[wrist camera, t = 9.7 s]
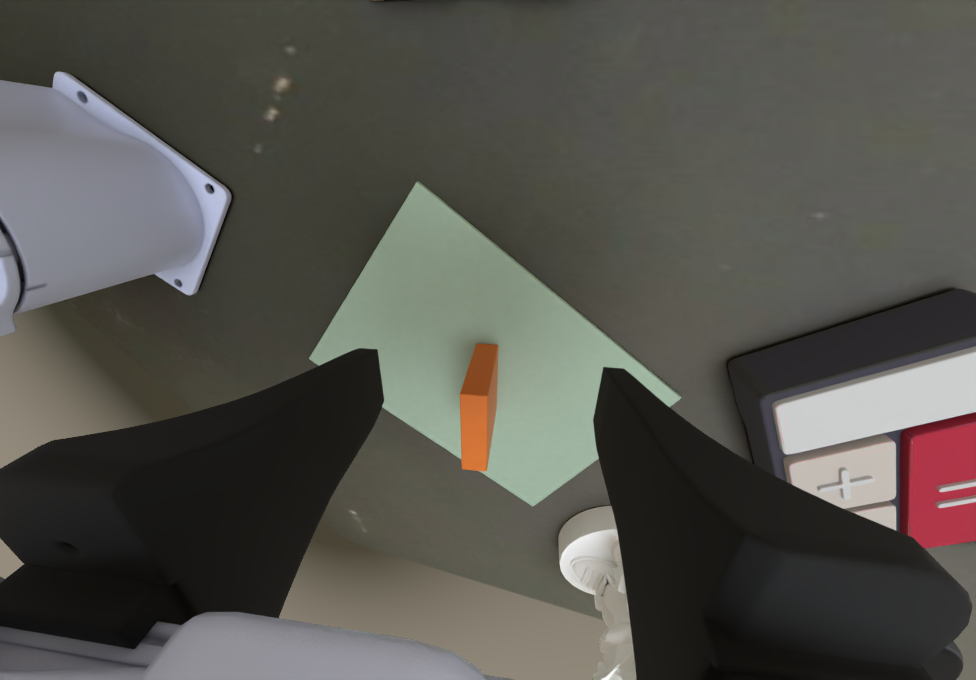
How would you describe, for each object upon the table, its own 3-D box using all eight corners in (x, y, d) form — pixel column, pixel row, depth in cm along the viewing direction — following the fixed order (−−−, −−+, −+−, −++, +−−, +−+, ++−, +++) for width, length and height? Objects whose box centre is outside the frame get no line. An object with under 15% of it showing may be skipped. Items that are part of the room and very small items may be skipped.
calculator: (801, 575, 23) (767, 407, 17) (763, 514, 27) (725, 360, 21) (1027, 543, 20) (1082, 323, 14) (948, 479, 24) (965, 284, 18)
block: (476, 408, 24) (461, 469, 20) (476, 342, 22) (459, 393, 17) (496, 409, 24) (486, 472, 19) (498, 344, 22) (488, 396, 17)
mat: (311, 356, 25) (308, 359, 24) (419, 181, 19) (416, 181, 18) (533, 502, 28) (532, 506, 28) (679, 394, 23) (681, 398, 22)
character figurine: (643, 492, 27) (716, 714, 16) (690, 566, 30) (777, 795, 19) (539, 524, 29) (542, 730, 19) (591, 589, 32) (619, 798, 22)
